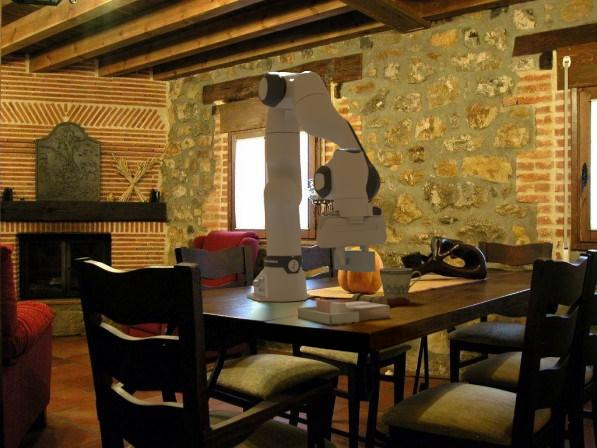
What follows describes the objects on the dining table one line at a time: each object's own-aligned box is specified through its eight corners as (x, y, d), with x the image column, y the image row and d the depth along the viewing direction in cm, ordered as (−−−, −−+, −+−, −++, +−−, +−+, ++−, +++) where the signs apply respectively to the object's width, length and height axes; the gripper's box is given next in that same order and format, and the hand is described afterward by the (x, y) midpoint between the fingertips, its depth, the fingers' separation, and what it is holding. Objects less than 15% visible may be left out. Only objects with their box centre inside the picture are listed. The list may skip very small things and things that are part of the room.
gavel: (398, 292, 187) (425, 295, 180) (398, 307, 187) (424, 310, 179) (350, 293, 174) (377, 296, 166) (350, 309, 173) (376, 313, 166)
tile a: (323, 315, 159) (316, 315, 157) (323, 299, 159) (316, 300, 158) (332, 316, 155) (325, 317, 154) (331, 301, 155) (325, 301, 154)
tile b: (336, 318, 153) (330, 318, 152) (336, 302, 153) (329, 302, 152) (346, 320, 150) (339, 320, 149) (345, 303, 150) (339, 304, 149)
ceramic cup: (383, 303, 183) (383, 270, 183) (376, 299, 193) (376, 268, 193) (426, 302, 185) (425, 269, 185) (416, 298, 194) (416, 267, 194)
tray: (297, 317, 157) (297, 308, 157) (325, 315, 161) (325, 305, 161) (330, 325, 144) (330, 314, 144) (358, 322, 149) (358, 311, 149)
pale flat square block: (327, 315, 160) (327, 304, 160) (360, 312, 166) (360, 300, 166) (355, 321, 150) (355, 309, 150) (389, 317, 156) (389, 305, 156)
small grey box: (375, 271, 153) (375, 251, 153) (362, 272, 151) (362, 252, 150) (346, 268, 163) (346, 249, 163) (334, 269, 161) (334, 250, 161)
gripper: (324, 210, 149) (326, 267, 149) (389, 209, 160) (391, 262, 160) (310, 211, 154) (312, 266, 154) (373, 210, 165) (375, 261, 165)
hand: (353, 264), depth 157 cm, fingers closed on small grey box, 4 cm apart
